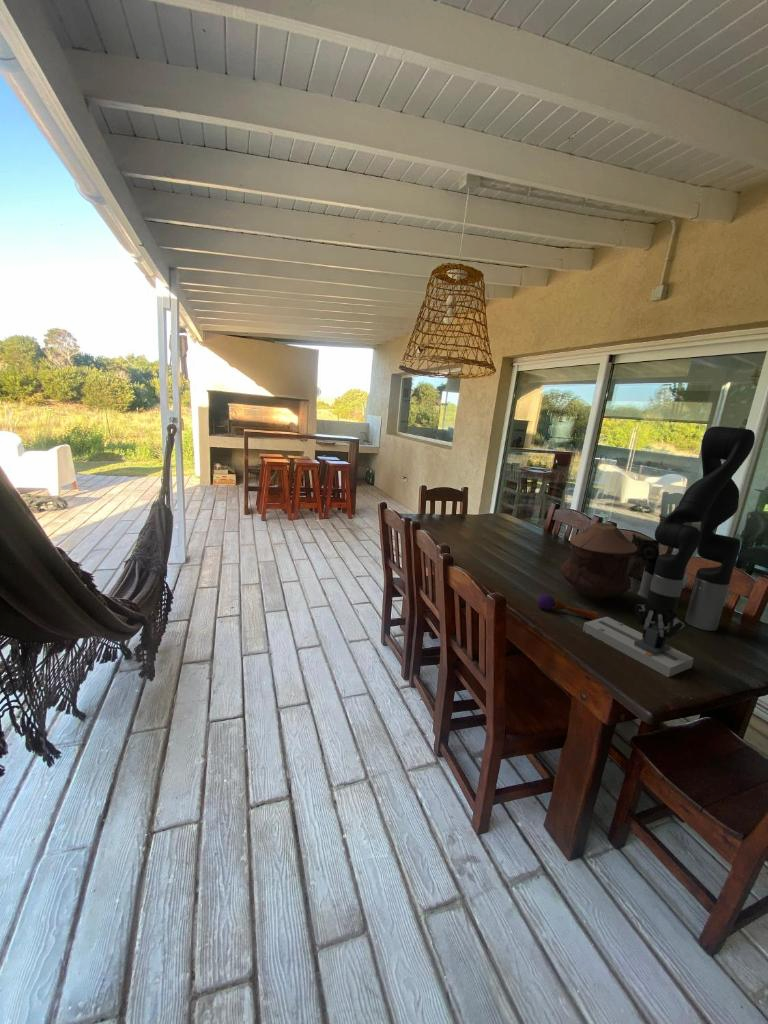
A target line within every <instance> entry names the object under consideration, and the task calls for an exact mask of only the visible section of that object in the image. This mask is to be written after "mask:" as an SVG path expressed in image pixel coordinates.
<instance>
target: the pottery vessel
mask: <svg viewBox="0 0 768 1024" xmlns="http://www.w3.org/2000/svg"><path fill="white" fill-rule="evenodd" d="M569 542H570V544H571V545H572V546H571V550H570V554H569V558H568V559H567V560H566V561H565V562H564V563H562V565H561V566H560V572H561V574H562V576H563V577H564V579H565V580H566V581H567V582H568V583H569V584H570V585H571V586H572V587H573V588H574V589H575V590H576V593H577V594H578V595H579V596H581V597H583V598H586V599H589V600H590V599H591V600H603V598H607V597H612V596H617V595H620V594H624V593H626V592H628V591H629V590H630V589H631V586H632V583H631V582H632V581H631V577H629V575H628V569H627V568H628V564H629V560H630V555H631V553H633V552H635V551H637V549H638V548H637V546H635V545H634V544H633V543H631V542H632V541H630V540H629V539H628V538H627V536H625V534H624V533H623V532H622V531H621V530H620V529H619V528H618V527H617V526H615V525H613V524H610V523H605V522H595V523H592V524H591V525H590V526H588V527H586V528H585V529H584V530H583V531H581V532H580V533H578V534H574V535H572V536H571V537H570V538H569Z"/></svg>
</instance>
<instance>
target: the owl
mask: <svg viewBox="0 0 768 1024" xmlns="http://www.w3.org/2000/svg"><path fill="white" fill-rule="evenodd" d="M630 542H631V543H633V544H634V545H635V546H637V548H638V549H637V551H635V552H633V553H631V555H630V560H629V564H628V568H627V573H628V575H629V576H630V578H631V577H633V578H632V579H634V580H636V579H637V581H639V580H640V581H639V582H641V581H642V577H643V572H644V568H645V565H646V561H647V559H657V558H658V556H659V555H660V546H659V545H660V544H659V543H658V542H657V541H656V539H653V538H649V537H647V536H641V535H637V534H636V533H632V540H631V541H630Z"/></svg>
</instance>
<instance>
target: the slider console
mask: <svg viewBox="0 0 768 1024" xmlns="http://www.w3.org/2000/svg"><path fill="white" fill-rule="evenodd" d="M584 631H585V632H584ZM582 632H584V633H586V634H588V635H589V634H590V635H589V636H591V635H592V637H594V638H595V639H597V640H599V641H600V640H601V642H602V641H603V642H602V643H603V644H606V645H608V646H609V647H612V648H613V649H615V650H617V651H619V652H621V653H623V654H624V655H626V656H628V657H630V658H632V659H633V660H635V661H637V662H640V663H641V664H643V665H645V666H646V667H648V668H650V669H652V670H654V671H656V672H657V673H659V674H661V675H663V676H664V677H667V678H670V677H673V676H675V675H677V674H679V673H680V674H681V672H684V671H686V670H689V669H691V668H692V667H693V663H694V657H693V656H690V655H688V654H685V653H684V652H682V651H679V650H678V649H675V648H674V647H673V646H671V647H670V649H669V650H667V651H664V652H661V653H659V654H656V655H653V654H651V653H649V652H648V651H646V650H644V649H642V648H640V647H638V646H636V645H634V642H635V641H638V640H641V639H644V638H643V637H642V636H643V632H640V631H637V630H636V629H634V628H631V626H630V627H629V626H627V625H625V624H624V623H623V622H620V621H617V620H615V619H613V618H611V617H610V616H604V617H601V618H597V619H596V620H589V621H585V622H584V623H583V627H582Z"/></svg>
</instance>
